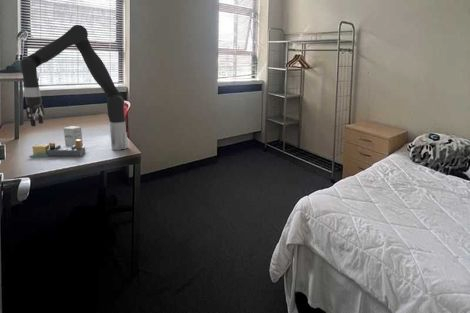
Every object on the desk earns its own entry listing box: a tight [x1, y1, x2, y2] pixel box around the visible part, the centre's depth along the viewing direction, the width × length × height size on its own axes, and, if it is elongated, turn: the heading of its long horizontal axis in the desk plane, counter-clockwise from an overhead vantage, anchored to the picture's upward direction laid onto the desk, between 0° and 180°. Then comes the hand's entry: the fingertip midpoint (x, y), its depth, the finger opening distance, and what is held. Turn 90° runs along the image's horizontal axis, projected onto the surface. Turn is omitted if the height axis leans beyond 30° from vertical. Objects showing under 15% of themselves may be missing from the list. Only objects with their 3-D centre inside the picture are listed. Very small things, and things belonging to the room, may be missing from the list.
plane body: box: [47, 138, 86, 158], centre depth 192 cm, size 18×8×9 cm, turn 94°
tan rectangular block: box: [32, 144, 50, 155], centre depth 192 cm, size 7×4×5 cm, turn 94°
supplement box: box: [63, 125, 84, 147], centre depth 210 cm, size 7×7×13 cm
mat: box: [29, 154, 49, 158], centre depth 193 cm, size 9×9×1 cm
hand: (37, 124), depth 188 cm, fingers open, 8 cm apart
